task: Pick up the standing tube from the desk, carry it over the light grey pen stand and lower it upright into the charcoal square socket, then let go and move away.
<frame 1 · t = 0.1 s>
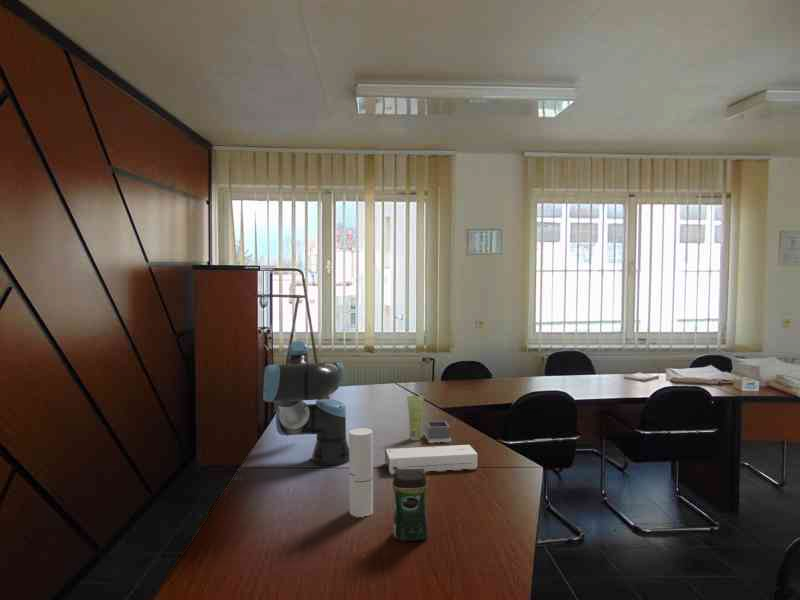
hand: (302, 404, 229), 15 cm above the table, tool tilted 35°, fingers open, 13 cm apart
laminator: (431, 468, 193), on the table
pen stand: (437, 438, 228), on the table
cylindrical container: (361, 512, 155), on the table
tube: (415, 439, 227), on the table
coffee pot: (324, 419, 261), on the table
coffee jar: (410, 536, 141), on the table
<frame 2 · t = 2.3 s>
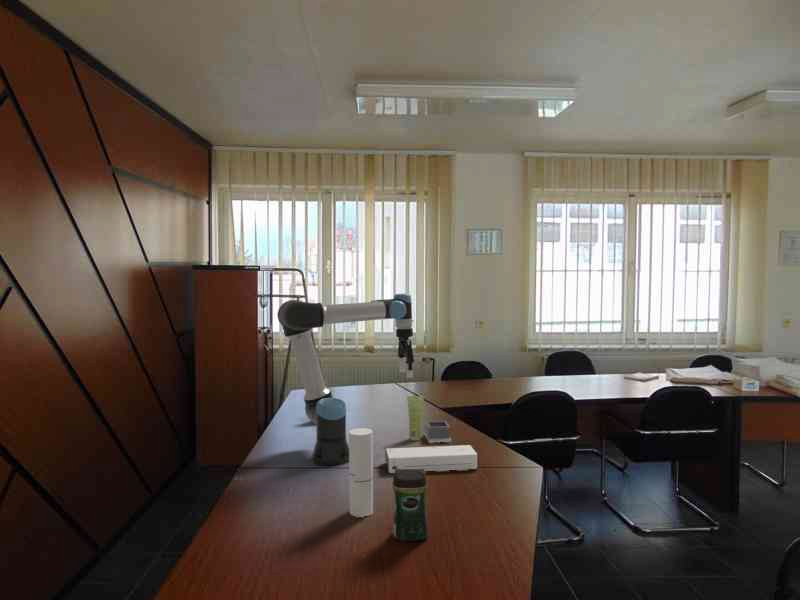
hand: (406, 374, 229), 29 cm above the table, tool pointing down, fingers open, 13 cm apart
nothing on the table moved.
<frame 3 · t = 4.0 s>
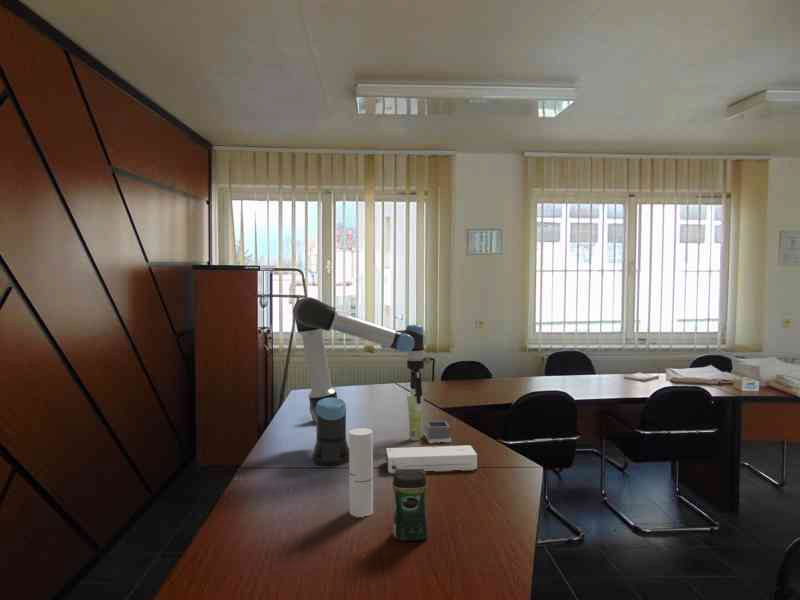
hand: (416, 406, 227), 15 cm above the table, tool pointing down, fingers open, 13 cm apart
nothing on the table moved.
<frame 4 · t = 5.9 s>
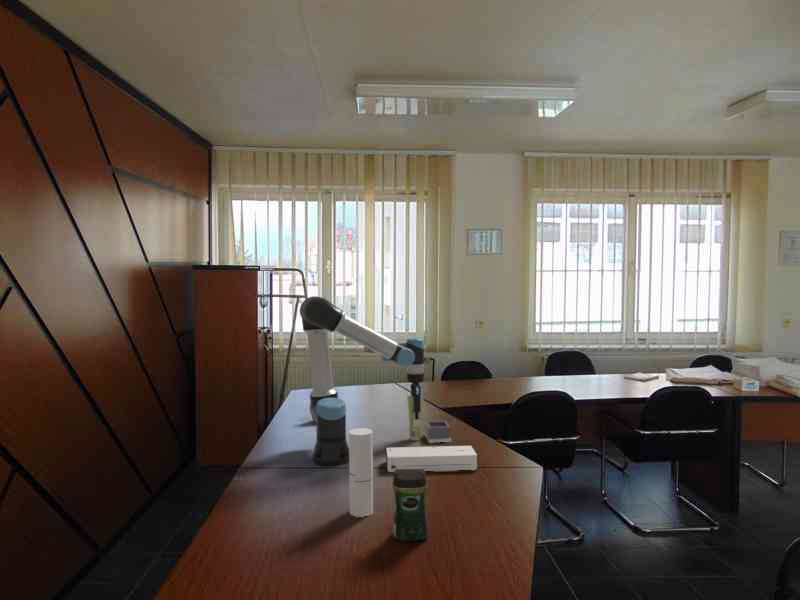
hand: (415, 424, 227), 7 cm above the table, tool pointing down, fingers closed on tube, 4 cm apart
tube: (415, 439, 227), on the table, touching gripper
everything else where it was.
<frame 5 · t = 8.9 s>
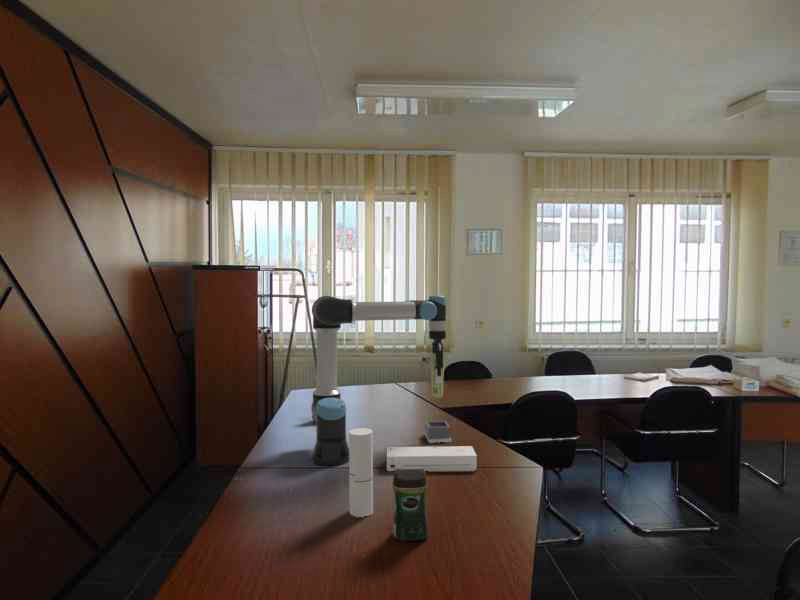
hand: (437, 381, 227), 26 cm above the table, tool pointing down, fingers closed on tube, 4 cm apart
tube: (437, 397, 227), point 19 cm above the table, touching gripper
when the fingers open (10 cm above the table, at t = 12.3 s): tube drops 1 cm, resting on pen stand.
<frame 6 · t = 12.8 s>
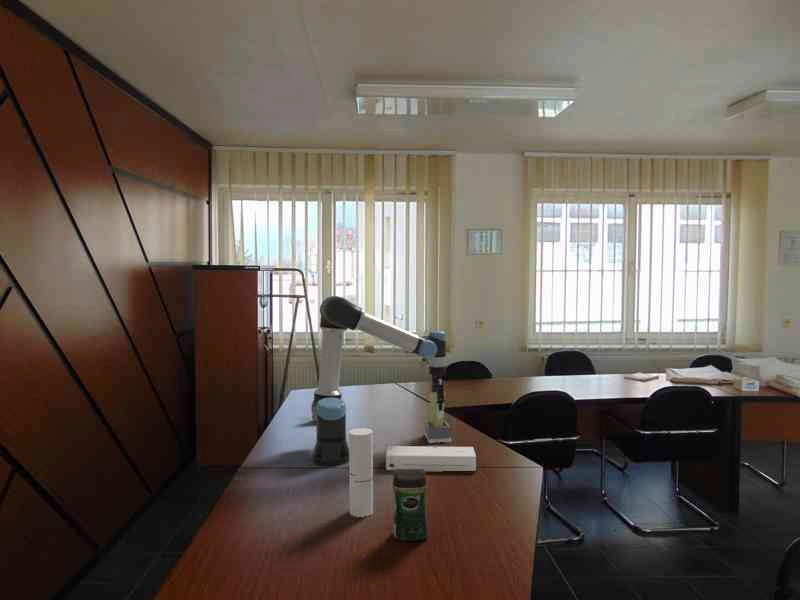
hand: (437, 414, 228), 11 cm above the table, tool pointing down, fingers open, 11 cm apart
tube: (437, 435, 228), point 1 cm above the table, touching pen stand
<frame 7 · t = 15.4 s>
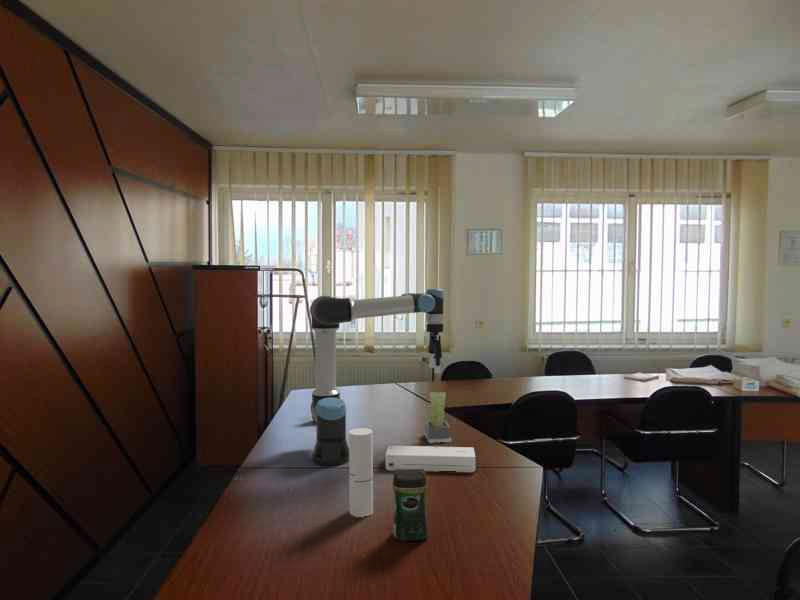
hand: (434, 370, 228), 31 cm above the table, tool pointing down, fingers open, 13 cm apart
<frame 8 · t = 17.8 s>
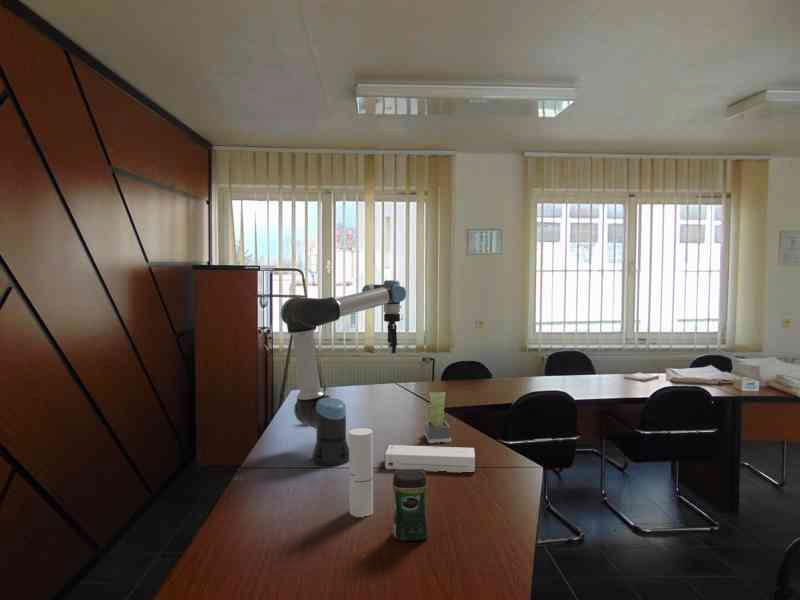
hand: (392, 358, 239), 35 cm above the table, tool pointing down, fingers open, 13 cm apart
at the end: tube 0.1 cm off-centre on the pen stand, point 1.3 cm above the pen stand's base; tube tilted 0°; the gripper is holding nothing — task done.
